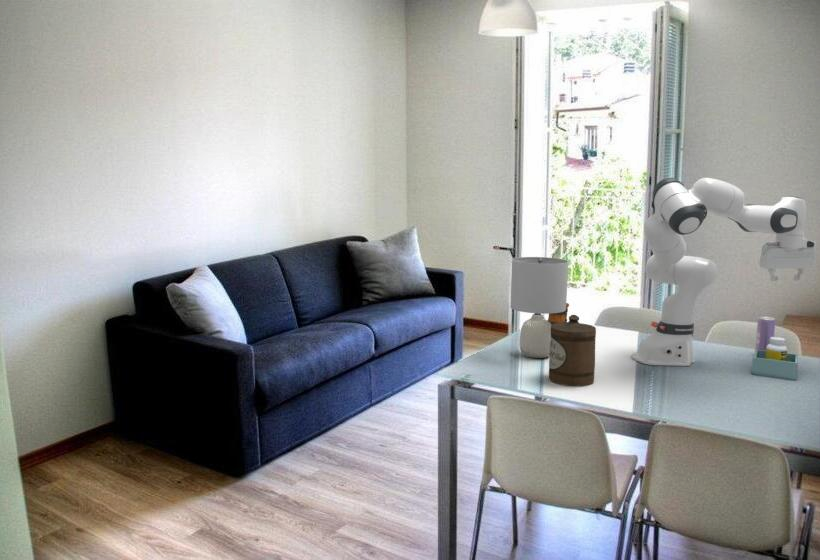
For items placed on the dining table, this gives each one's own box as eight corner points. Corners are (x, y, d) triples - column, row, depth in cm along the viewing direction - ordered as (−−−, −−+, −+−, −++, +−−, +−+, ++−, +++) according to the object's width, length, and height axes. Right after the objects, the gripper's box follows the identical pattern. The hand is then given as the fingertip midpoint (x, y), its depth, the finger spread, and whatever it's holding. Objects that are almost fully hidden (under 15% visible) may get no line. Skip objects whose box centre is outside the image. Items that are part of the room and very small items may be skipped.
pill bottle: (776, 374, 246) (780, 341, 244) (760, 369, 252) (763, 337, 250) (789, 372, 249) (792, 339, 247) (772, 367, 254) (775, 335, 253)
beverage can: (774, 358, 270) (778, 319, 268) (758, 358, 270) (762, 319, 268) (767, 354, 276) (771, 316, 274) (751, 354, 276) (755, 316, 274)
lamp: (537, 346, 282) (541, 254, 277) (575, 358, 266) (580, 260, 260) (497, 353, 271) (500, 257, 266) (534, 366, 255) (539, 263, 249)
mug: (558, 334, 305) (559, 307, 303) (539, 330, 312) (540, 304, 311) (576, 330, 313) (578, 304, 311) (557, 326, 321) (559, 300, 319)
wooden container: (545, 373, 246) (548, 310, 243) (588, 374, 246) (592, 311, 242) (552, 386, 231) (555, 319, 228) (598, 387, 231) (602, 320, 228)
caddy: (795, 380, 241) (797, 363, 241) (751, 374, 248) (753, 357, 247) (796, 371, 253) (798, 354, 252) (754, 365, 260) (755, 349, 259)
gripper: (769, 243, 249) (765, 282, 251) (820, 243, 253) (816, 281, 255) (757, 241, 255) (753, 279, 257) (808, 241, 259) (804, 279, 261)
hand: (785, 280), depth 256 cm, fingers open, 8 cm apart
